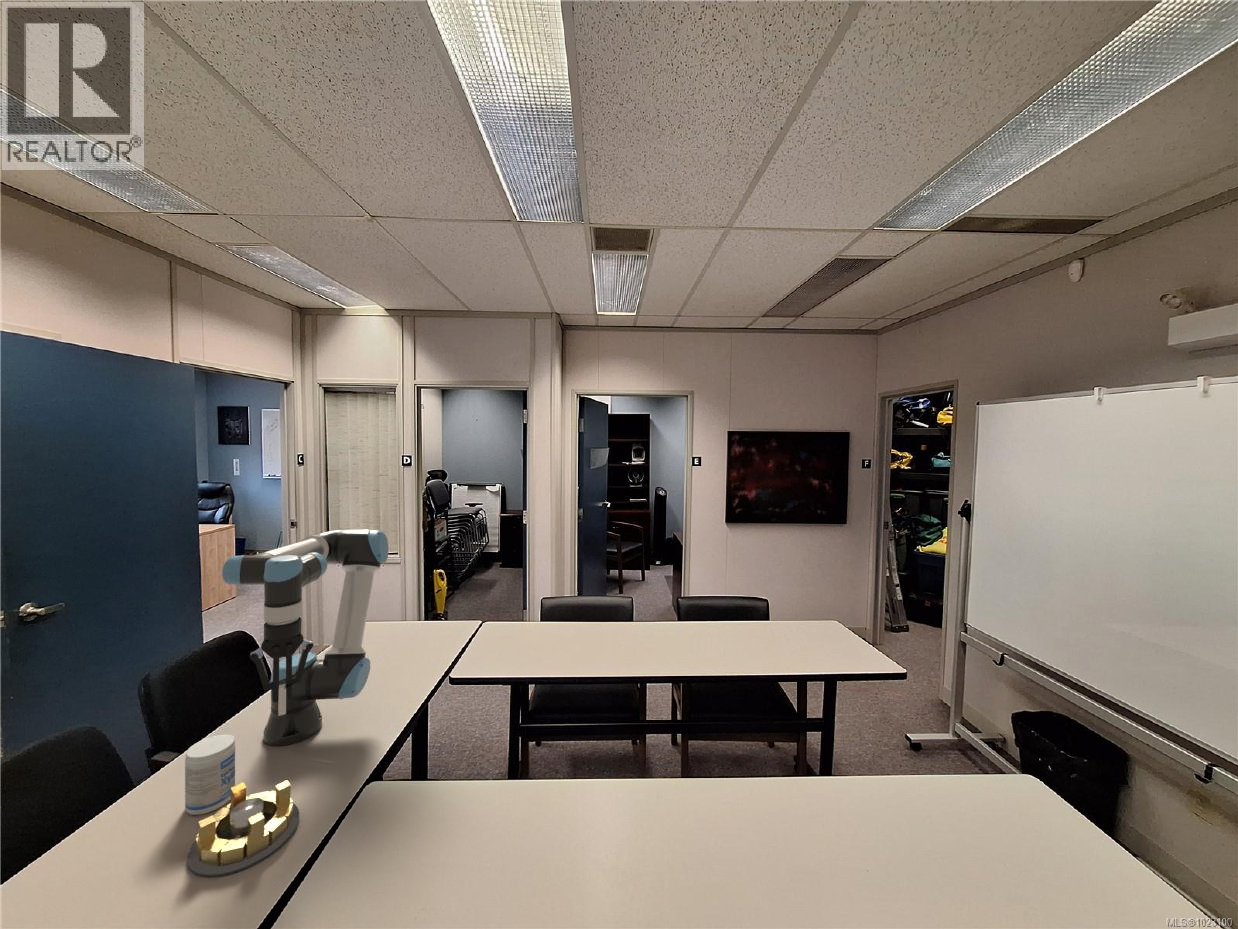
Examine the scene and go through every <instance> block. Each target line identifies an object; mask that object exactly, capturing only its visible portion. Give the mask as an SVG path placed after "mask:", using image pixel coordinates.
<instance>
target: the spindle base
mask: <svg viewBox="0 0 1238 929" xmlns="http://www.w3.org/2000/svg"><path fill="white" fill-rule="evenodd" d="M259 813H262V814H263V816H264V818H265V825H266V824H267V823H268V822H269V821H270V820H271V819H272V818H274V814H272V813H266V812H263V800H262V799H261V798H251V799H248V800H245V801H243V802H241V803H239V804H238V805H236V806H235V807H234V808H233V809H232V810H231V812H230V825H229V826H228V827H227V828H226V829H224V830H223V831H222V832H221V833H220V834H219V836H218V838H220V839H226V840H232V839H236V838H241V837H245V836H247V835H248V819H249V818H251V817H253V816H255V815H257V814H259ZM299 822H300V811H299V808H298V806H297V804H295V803H294V802H293V816H292V819H291V822H290V824H289V827H288V828H287V830H286V831H285V832H284V833H283V834H282V835H281V836H280V837H279V838H278V839H277V840H276V841H275V842H274V843H273V844H269V847H267V848H265V849H264V850H262V851H260V852H258V853H256V854H254V855H253V856H251V857H249V858H246V856H245V857H244V860H242V861H238V862H234V863H230V864H226V865H222V866H221V863H220V864H219V865H218V866H215V865H209V864H204V863H202V861H201V862H200V861H199V859H198V856H197V853H196V839H195V840H194V841H193V843H192V844H191V847H190V848H189V850H188V853H187V866H188V869H189V871H190V872H191V873H192V874H193V875H196V876H197V877H201V878H219V877H220V878H221V877H226V876H230V875H235V874H237V873H239V872H242V871H244V870H247V869H249V868H252V867H253V866H255V865H257V864H259V863H261V862H263V861H265V860H266V859H268V858H270V857H271V856H272V855H273V854H275V853H277V851H279V850H280V849H281V848H282V847H283V846H284V845H285V844H286V843H288V841H289V840H290V839H292V838H291V837H293V835H294V834H295V832H296V830H297V829H298V825H299ZM278 849H279V850H278ZM274 852H275V853H274ZM270 855H271V856H270Z"/></svg>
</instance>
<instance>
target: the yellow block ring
mask: <svg viewBox="0 0 1238 929" xmlns="http://www.w3.org/2000/svg"><path fill="white" fill-rule="evenodd" d="M291 789H292V788H291V783H290V782H289V781H288V780H284V781H282V782H280V783H278V784H277V785H276V784H275V790H271V791H270V790H268V791H267V790H266V791H261V792H258V793H257V792H256V793H253V794H250V795H249V796H247V786H246V785H245V783H244V782H241V783H239V784H237V785H235V786H234V787H232V788H231V799H230V803H229V804H227V805H226V804H225V805H226V807H223V806H222V808H219V810H218V811H216V812H215V813H214V814H212V815H209V816H208V817H206V818H204V819H200V821H198V823H197V825H198V826H197V827H198V831H197V832H198V833H197V834H196V835H195V840H196V853H197V856H198V859H199V861H200V862H201V861H202V863H204V864H209V865H215V866H218V865H219V864H220V863H221V866H222V865H226V864H230V863H234V862H238V861H242V860H244V857H245V856H246V858H249V857H251V856H253V855H254V854H256V853H258V852H260V851H262V850H264V849H265V848H267V847H269V844H273V843H274V842H275V841H276V840H277V839H278V838H279V837H280V836H281V835H282V834H283V833H284V832H285V831H286V830H287V828H288V827H289V824H290V822H291V819H292V816H293V803H294V801H293V799H292V798H291V797H292V796H291V793H292V792H291ZM251 798H261V799H262V800H263V812H266V813H272V814H274V818H272V819H271V820H270V821H269V822H268V823H267V824H266V825H265V818H264V816H263V814H262V813H259V814H257V815H255V816H253V817H251V818H249V819H248V835H247V836H245V837H241V838H236V839H232V840H226V839H220V838H218V836H219V834H220V833H221V832H222V831H223V830H224V829H226V828H227V827H228V826H229V825H230V812H231V810H232V809H233V808H234V807H235V806H236V805H238V804H239V803H241V802H243V801H245V800H248V799H251Z"/></svg>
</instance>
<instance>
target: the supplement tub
mask: <svg viewBox="0 0 1238 929" xmlns="http://www.w3.org/2000/svg"><path fill="white" fill-rule="evenodd" d="M235 739H236V738H235V736H233V735H232V734H218V735H213V736H209V737H206V738H204V739H201V740H200V741H198V742H196V743H194V744H193V745H191V746H190V747H189V748H188V749H187V750H186V752H185V759H184V769H185V770H184V773H185V774H184V790H185V791H184V800H185V801H184V808H185V811H186V813H187V814H190V815H194V816H198V815H199V816H200V815H204V814H207V813H211V812H214V811H216V810H218V809H221V807H223V806H224V805H226V804H227V803H228V802H229V801H231V788H232V787H234V786H236V742H235V741H236V740H235Z"/></svg>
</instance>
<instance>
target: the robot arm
mask: <svg viewBox="0 0 1238 929" xmlns="http://www.w3.org/2000/svg"><path fill="white" fill-rule="evenodd" d="M388 556H389V541H388V537H387V535H386V533H385V532H384V531H382V530H380V529H377V530H376V529H369V528H368V529H342V528H341V529H332V530H328V531H323V532H319V533H315V534H312V535H309V536H305V537H304V538H303V539H301V540H300V541H298V542H295V543H292V544H288V545H285V546H282V547H278V548H274V549H270V550H268V551H265V552H260V553H256V554H252V555H245V554H241V555H232V556H230V557H229V558H227V560H226V561H225V562H224V564H223V566H222V569H221V570H222V571H221V572H222V573H221V576H222V580H223V581H224V583H225V584H227V585H236V586H237V585H238V586H249V585H252V586H253V585H255V586H257V585H258V586H259V585H260V586H261V585H264V586H263V589H264V591H263V592H264V594H263V596H264V597H263V598H264V599H263V600H264V601H263V603H264V604H263V621H264V622H265V623H263V641H262V643H260V644H261V645H260V646H259V648H257V649H256V650H252V651H251V652H250V654H249V659H250V660H251V661H252V662H254V664H255V666H256V670H257V672H258V676H259V679H260V682H261V685H262V688H263V690H264V691H268V690H270V713H269V717H268V719H267V722H266V725H265V727H264V729H263V736H262V737H263V742H264V743H265V744H266V745H269V746H272V747H274V746H275V747H281V746H288V745H293V744H296V743H299V742H302V741H304V740H306V739H309V738H310V737H312V736H313V735H314V734H316V733H317V732H318V731H319V730H320V729H321V728H322V725H323V716H322V713H321V710H320V707H319V705H318V703H317V700H344V699H352V698H355V697H357V696H359V695H360V693H361V692H362V690H363V689H364V688H365V685H366V684H367V681H368V678H369V675H370V671H371V660H370V659H369V657H366V654H367V652H366V651H365V650H364V648H363V642H364V636H365V629H366V622H367V617H368V612H369V605H370V598H371V593H372V588H373V587H372V586H373V581H374V577H375V576H374V575H375V573H376V572H377V571H379V570H380V568H381V564H385V563H386V562H387V561H388ZM328 563H329V564H331V563H333V564H342V565H341V569H342V570H343V571H344V572H345V575H344V580H343V586H342V591H341V596H340V601H339V605H338V606H339V607H338V612H337V618H336V622H335V629H334V633H333V639H332V644H331V645H332V646H331V648H330V649H328V650H327V651H326V652H325V653H324V657H323V658H324V659H318V656H317V654H316V653H314V652H310V651H311V650H312V648H313V647H314V642H313V640H312V639H305V638H304V636H303V634H302V617H301V616H302V615H303V614H302V613H303V612H302V609H303V608H302V607H303V605H302V603H303V601H302V600H303V598H302V596H303V594H302V593H303V588H304V587H306V586H307V585H309V584H311V583H313V582H315V581H317V580H319V579H320V578H321V577H322V576H323V575H324V574H326V571H327V569H328ZM300 647H301V649H302V650H301V653H297V654H295V653H296V652H297V650H298V648H300ZM264 653H265V654H266V655H267V656H269V658H271V659H272V669H271V676H270V677H269V676H268V672H267V669H266V666H265V663H264V659H263V656H264ZM281 658H283V659H282V660H280V659H281ZM269 678H270V679H269ZM315 732H316V733H315Z"/></svg>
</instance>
